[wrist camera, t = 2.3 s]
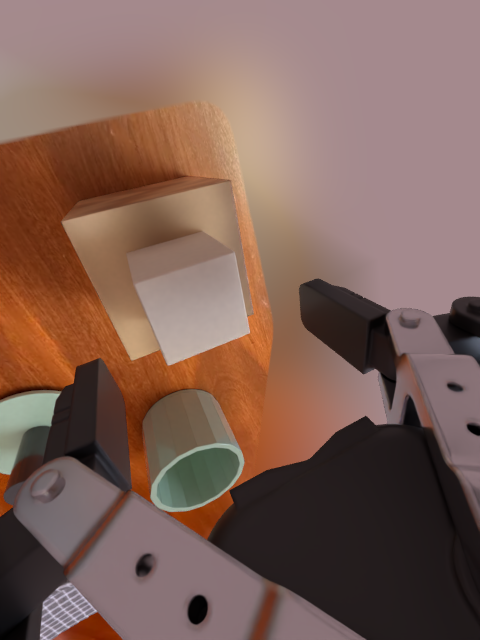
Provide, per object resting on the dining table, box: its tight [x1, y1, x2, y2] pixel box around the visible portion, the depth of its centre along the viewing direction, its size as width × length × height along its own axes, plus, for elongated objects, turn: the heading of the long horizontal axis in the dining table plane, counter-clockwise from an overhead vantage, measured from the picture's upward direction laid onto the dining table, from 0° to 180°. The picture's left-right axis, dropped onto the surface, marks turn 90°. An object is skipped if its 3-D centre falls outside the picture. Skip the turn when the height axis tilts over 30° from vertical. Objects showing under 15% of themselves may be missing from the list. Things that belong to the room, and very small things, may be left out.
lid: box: [0, 390, 62, 505], centre depth 26 cm, size 11×11×7 cm
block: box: [126, 231, 250, 365], centre depth 15 cm, size 4×4×5 cm
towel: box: [40, 579, 97, 640], centre depth 34 cm, size 15×18×8 cm
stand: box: [61, 176, 254, 360], centre depth 21 cm, size 9×9×10 cm
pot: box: [142, 389, 244, 512], centre depth 33 cm, size 10×10×8 cm
